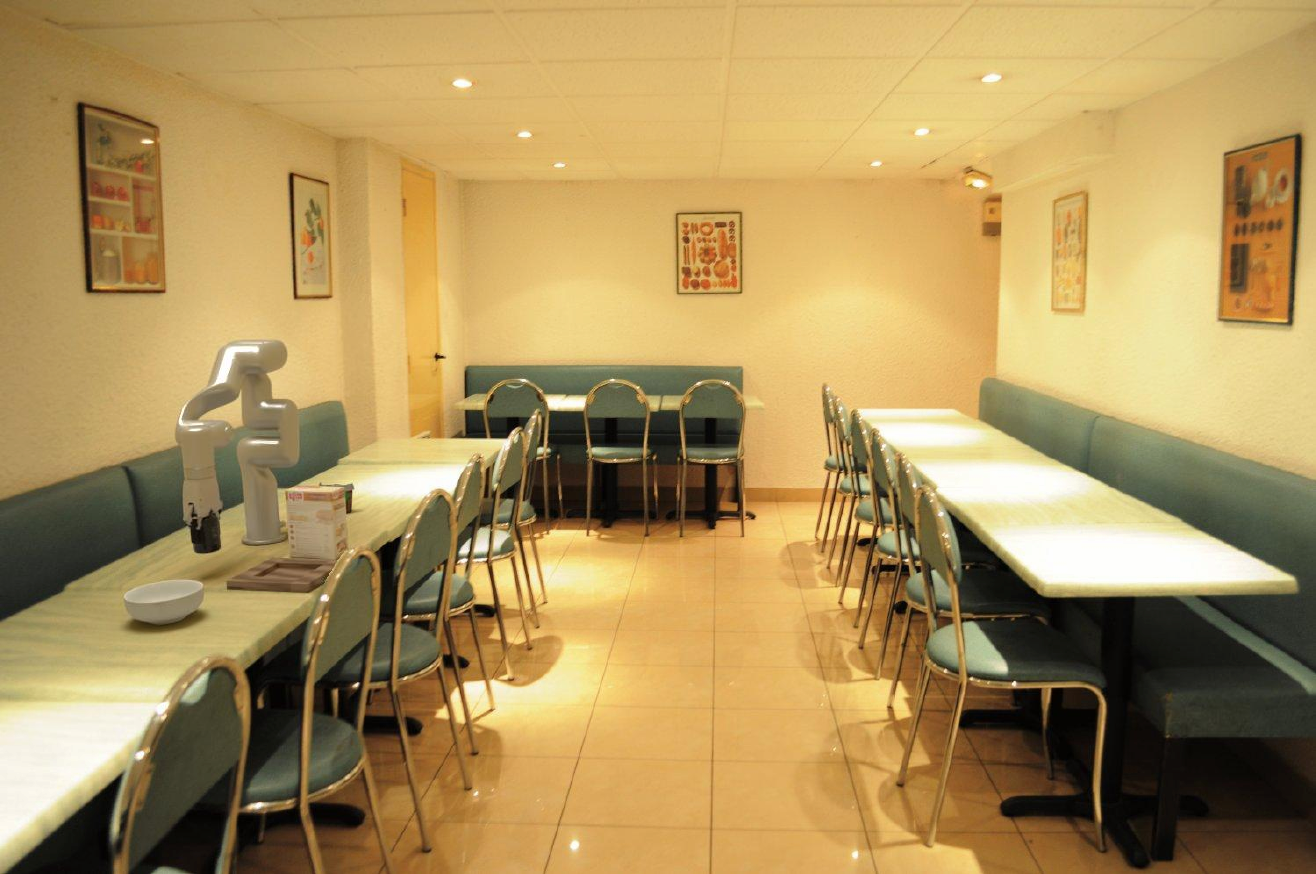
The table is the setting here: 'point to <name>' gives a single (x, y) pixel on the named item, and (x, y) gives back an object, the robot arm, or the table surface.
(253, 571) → the wooden tray
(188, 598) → the cereal bowl
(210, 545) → the supplement bottle
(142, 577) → the table surface
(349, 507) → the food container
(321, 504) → the coffeecake box
